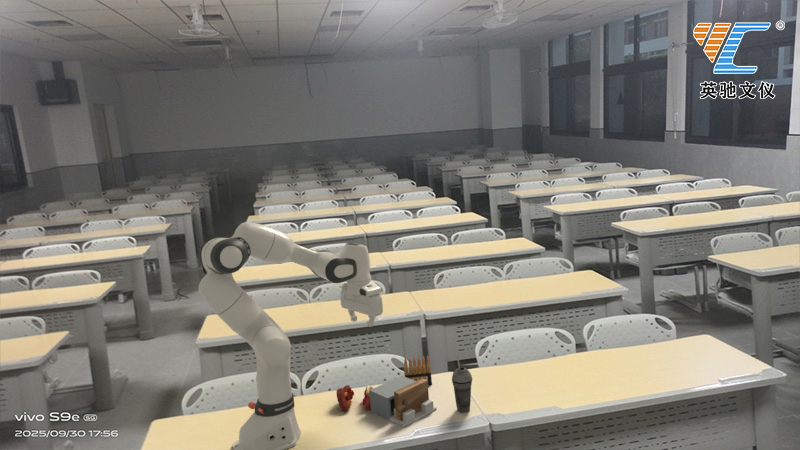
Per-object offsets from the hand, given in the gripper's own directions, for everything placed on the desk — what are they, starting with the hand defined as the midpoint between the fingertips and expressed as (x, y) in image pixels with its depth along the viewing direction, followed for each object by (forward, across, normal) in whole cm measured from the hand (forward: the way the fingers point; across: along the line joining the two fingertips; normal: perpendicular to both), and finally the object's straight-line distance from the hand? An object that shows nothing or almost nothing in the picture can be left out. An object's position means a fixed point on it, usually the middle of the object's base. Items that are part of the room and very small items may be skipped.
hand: (362, 323), depth 214 cm
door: (+30, +19, +5) cm, 36 cm away
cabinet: (+31, +14, +5) cm, 34 cm away
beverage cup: (+31, +30, +19) cm, 47 cm away
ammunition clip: (+31, +3, +23) cm, 39 cm away
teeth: (+32, -2, -3) cm, 32 cm away
